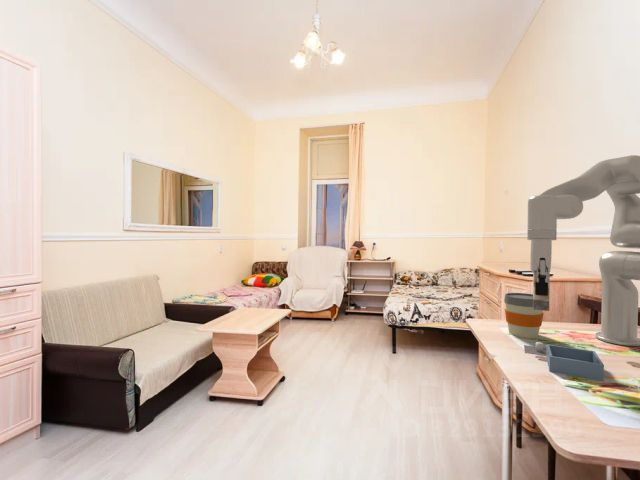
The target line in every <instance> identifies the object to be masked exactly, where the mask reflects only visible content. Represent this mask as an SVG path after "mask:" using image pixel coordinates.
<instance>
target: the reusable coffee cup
mask: <svg viewBox="0 0 640 480" xmlns="http://www.w3.org/2000/svg"><path fill="white" fill-rule="evenodd" d="M503 302H504V304H505V308H504V314H505V321H506V323H507V330H508V333H509V334H510V335H512V336H515V337H518V338H519V337H520V338H525V339H534V338H538V337H539V333H540V327H542V323H543V319H544V312H543V311H544V310H534V309H533V293H524V292H523V293H522V292H507V293H505V294H504V300H503Z"/></svg>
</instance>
